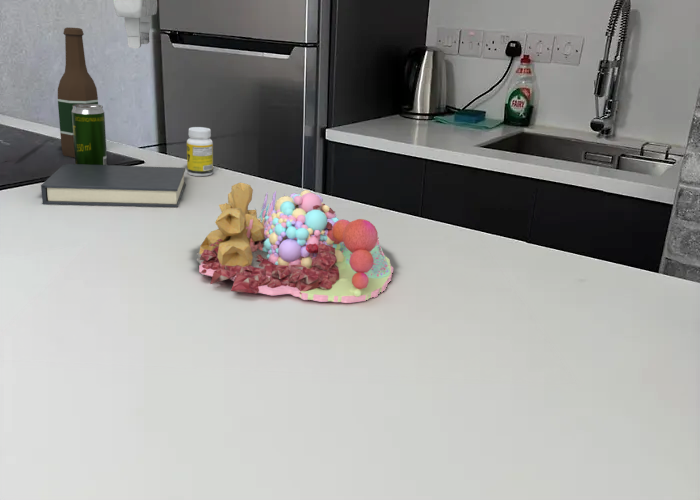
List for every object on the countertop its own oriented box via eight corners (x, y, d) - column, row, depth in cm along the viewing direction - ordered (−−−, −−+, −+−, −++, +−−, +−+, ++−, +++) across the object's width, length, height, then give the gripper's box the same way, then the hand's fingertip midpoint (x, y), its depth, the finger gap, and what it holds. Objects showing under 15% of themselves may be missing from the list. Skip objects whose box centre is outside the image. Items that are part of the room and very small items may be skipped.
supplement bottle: (188, 170, 130) (188, 125, 127) (214, 171, 130) (213, 127, 127) (185, 176, 125) (184, 130, 122) (211, 177, 126) (211, 131, 123)
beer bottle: (54, 151, 136) (44, 25, 128) (93, 148, 141) (85, 27, 133) (69, 159, 131) (59, 29, 123) (109, 156, 136) (102, 30, 128)
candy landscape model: (178, 297, 76) (176, 218, 72) (211, 230, 98) (211, 167, 95) (401, 308, 77) (409, 230, 74) (384, 239, 99) (390, 177, 96)
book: (42, 204, 104) (40, 185, 103) (65, 180, 117) (64, 163, 116) (177, 207, 107) (177, 188, 106) (185, 184, 120) (185, 167, 119)
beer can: (108, 169, 126) (105, 103, 122) (106, 176, 121) (102, 108, 117) (77, 169, 125) (73, 102, 121) (74, 176, 120) (69, 107, 116)
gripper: (126, -45, 115) (129, 40, 119) (101, -53, 96) (106, 49, 100) (164, -42, 116) (166, 42, 120) (147, -50, 97) (151, 51, 101)
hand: (139, 45), depth 110 cm, fingers open, 8 cm apart
